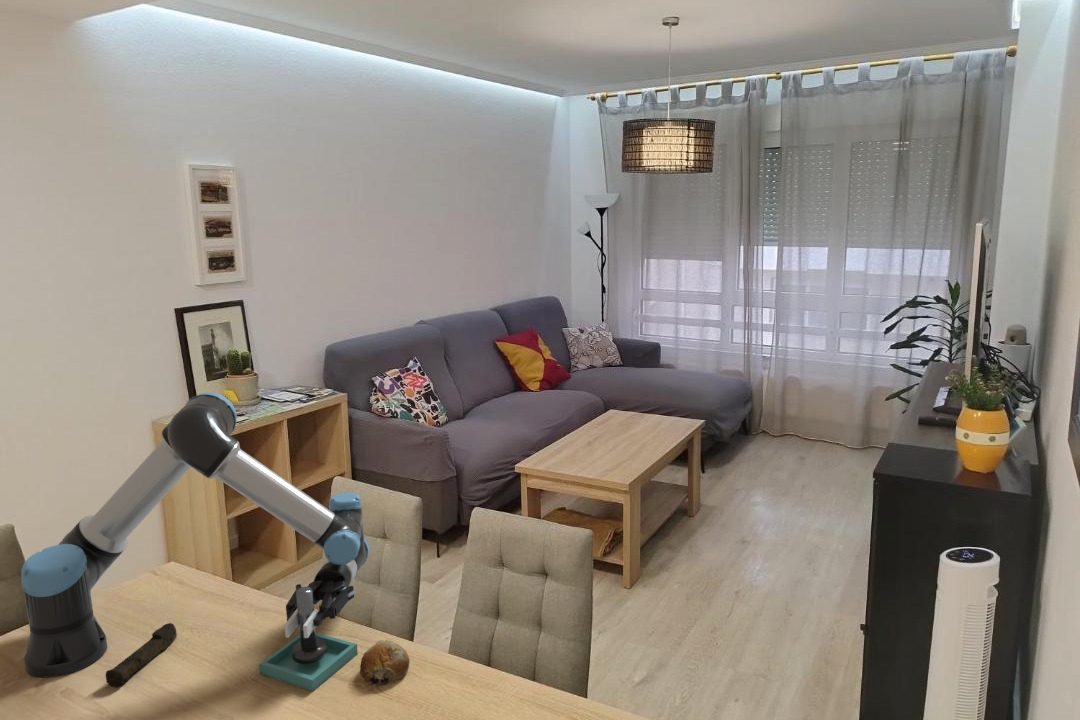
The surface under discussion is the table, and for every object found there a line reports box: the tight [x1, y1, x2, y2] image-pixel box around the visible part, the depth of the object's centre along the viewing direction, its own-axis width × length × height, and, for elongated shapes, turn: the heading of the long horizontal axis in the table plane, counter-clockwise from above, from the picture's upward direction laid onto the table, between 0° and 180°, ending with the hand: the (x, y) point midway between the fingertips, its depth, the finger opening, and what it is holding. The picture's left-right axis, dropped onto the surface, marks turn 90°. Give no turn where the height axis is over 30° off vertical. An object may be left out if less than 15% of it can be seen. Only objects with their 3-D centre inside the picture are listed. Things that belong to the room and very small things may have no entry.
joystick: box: [292, 586, 327, 664], centre depth 162 cm, size 7×7×14 cm
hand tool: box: [105, 622, 178, 688], centre depth 165 cm, size 19×4×5 cm, turn 165°
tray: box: [258, 632, 359, 692], centre depth 163 cm, size 14×14×2 cm
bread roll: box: [359, 640, 410, 686], centre depth 160 cm, size 10×10×8 cm
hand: (296, 631), depth 156 cm, fingers closed on joystick, 3 cm apart
